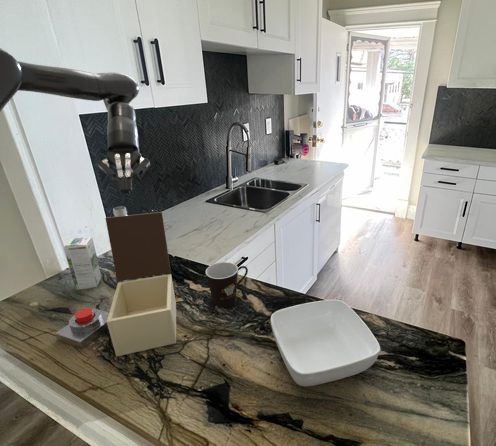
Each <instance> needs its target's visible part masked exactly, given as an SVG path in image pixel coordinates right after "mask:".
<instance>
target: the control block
mask: <svg viewBox="0 0 496 446" xmlns="http://www.w3.org/2000/svg"><path fill="white" fill-rule="evenodd" d="M91 309H92V310H93V314H94V318H93V319H92V320H91V321H89V322H86V323H82V324H78V323H77V321H76V318H75V314H74V315H73V316H72V317H70V319H69V320H68V324H67V325H65V326H64V327H62V328H60V330H58V331H56V332H54V335H55V337H56V340H57V341H58V342H60V343H63V344H65V345H69V346H72V347H75V348H78V349H81V350H83V349H85V348H86V347H87V346H89V345H90V344H91V343H92V342H94V341H95V340H96V339H98V338H99V337H100V336H101V335H103V334H104V333H105V332H107V331H109V329H108V325H107V319H108V315H109V312H110V311H109V312H108V311H105V310H102V309H98V308H96V307H92V308H91Z"/></svg>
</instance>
